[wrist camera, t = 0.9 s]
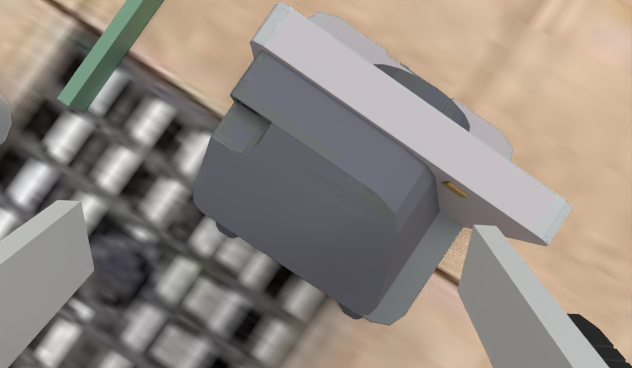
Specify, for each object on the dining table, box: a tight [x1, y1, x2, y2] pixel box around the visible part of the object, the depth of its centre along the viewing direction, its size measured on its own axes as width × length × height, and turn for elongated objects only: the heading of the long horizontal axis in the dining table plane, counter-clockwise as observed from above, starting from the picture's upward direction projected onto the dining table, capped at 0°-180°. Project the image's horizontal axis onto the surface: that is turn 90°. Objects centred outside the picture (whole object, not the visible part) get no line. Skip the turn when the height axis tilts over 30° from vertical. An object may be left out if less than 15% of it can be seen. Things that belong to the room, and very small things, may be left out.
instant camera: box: [193, 2, 572, 325], centre depth 27 cm, size 21×21×15 cm
